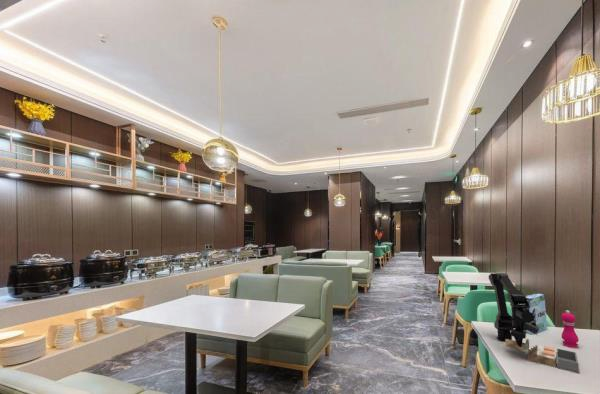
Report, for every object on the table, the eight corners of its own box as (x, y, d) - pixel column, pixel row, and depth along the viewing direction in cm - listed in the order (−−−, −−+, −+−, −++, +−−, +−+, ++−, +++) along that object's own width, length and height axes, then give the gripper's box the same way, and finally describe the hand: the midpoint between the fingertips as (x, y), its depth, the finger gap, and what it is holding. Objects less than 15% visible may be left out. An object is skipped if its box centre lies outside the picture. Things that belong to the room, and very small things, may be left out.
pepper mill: (582, 349, 161) (579, 312, 163) (567, 348, 162) (564, 311, 164) (573, 343, 168) (570, 308, 170) (559, 342, 169) (556, 308, 171)
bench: (527, 360, 148) (527, 352, 149) (528, 351, 159) (528, 343, 159) (556, 367, 141) (555, 358, 141) (555, 357, 152) (554, 349, 152)
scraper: (504, 348, 155) (504, 341, 156) (507, 341, 164) (506, 334, 165) (528, 354, 149) (527, 346, 149) (529, 346, 158) (528, 339, 158)
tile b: (544, 350, 150) (544, 348, 150) (544, 348, 153) (544, 345, 153) (554, 353, 148) (554, 350, 148) (554, 350, 151) (554, 348, 151)
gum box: (538, 327, 194) (536, 293, 196) (547, 330, 190) (545, 294, 192) (523, 332, 186) (520, 296, 188) (532, 335, 181) (529, 298, 183)
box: (557, 367, 140) (556, 358, 141) (556, 356, 152) (555, 348, 152) (579, 373, 135) (578, 363, 136) (576, 361, 147) (575, 352, 147)
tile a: (544, 354, 146) (544, 352, 146) (544, 352, 149) (544, 349, 149) (554, 357, 143) (554, 354, 143) (554, 354, 146) (554, 351, 146)
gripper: (536, 324, 145) (539, 356, 144) (537, 315, 159) (540, 344, 158) (509, 319, 152) (511, 350, 151) (512, 311, 166) (514, 339, 165)
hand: (520, 346), depth 156 cm, fingers closed on scraper, 2 cm apart
